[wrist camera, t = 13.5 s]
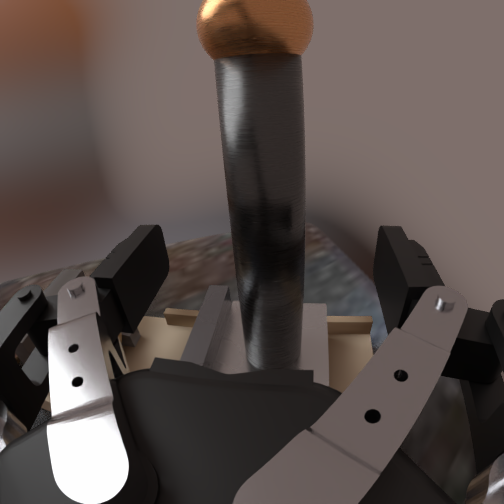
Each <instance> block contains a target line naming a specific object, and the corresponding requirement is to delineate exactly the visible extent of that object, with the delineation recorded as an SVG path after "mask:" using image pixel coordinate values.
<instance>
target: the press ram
mask: <svg viewBox="0 0 504 504" xmlns="http://www.w3.org/2000/svg"><path fill="white" fill-rule="evenodd" d="M197 33H198V37H199V40H200V42H201V44H202V47H203V48H204V50H205V51H206V52H207V54H208V55H209V56H210V57H211V58H212V59H213V60H214V65H215V76H216V88H217V97H218V98H217V99H218V109H219V120H220V130H221V140H222V150H223V160H224V170H225V179H226V189H227V198H228V206H229V217H230V226H231V235H232V244H233V252H234V261H235V270H236V278H237V286H238V295H239V301H233V303H232V306H231V299H230V291H229V286H216V285H210V286H209V288H208V291H207V293H206V296H205V298H204V301H203V303H202V306H201V308H200V311H199V313H198V316H197V318H196V321H195V323H194V326H193V328H192V331H191V333H190V336H189V338H188V341H187V343H186V346H185V348H184V351H183V353H182V356H181V358H180V361H187V362H192V363H195V364H198V365H201V366H204V367H206V368H209V369H212V370H215V371H218V372H221V373H225V374H237V373H245V372H253V371H260V370H267V369H292V370H314V381H313V382H316V383H320V384H323V385H326V386H329V355H328V328H327V308H326V304H309V303H303V298H304V268H305V130H304V103H303V102H304V101H303V79H302V61H301V55H302V54H303V53H304V51H305V50H306V48H307V47H308V44H309V43H310V40H311V37H312V34H313V16H312V11H311V8H310V6H309V4H308V2H307V0H203V2H202V4H201V6H200V8H199V11H198V15H197Z"/></svg>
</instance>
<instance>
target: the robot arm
mask: <svg viewBox="0 0 504 504" xmlns="http://www.w3.org/2000/svg"><path fill="white" fill-rule="evenodd" d="M168 272H169V258H168V254H167V250H166V246H165V241H164V237H163V232H162V229H161V227H160V226H159V225H140V226H138V227H137V229H136V230H135V231H134V232H133V233H132V234H131V235H130V236H129V237H128V238H127V239H125V240H124V241H122V242H121V243H119V244H118V245H117V246H116V247H115V248H114V249H113V250H112V251H111V253H110V254H109V255H108V256H107V257H106V259H104V260H103V261H102V263H101V264H100V265H99V266H98V267H97V268H96V269H95V271H94V272H93V273H92V274H91V275H90V276H89V277H85V276H84V277H78V278H75V279H73V280H71V281H69V282H67V283H66V284H65V285H63V286H62V287H61V289H60V290H59V292H58V295H53V296H47V297H45V295H44V293H43V291H42V289H41V287H40V286H39V285H29V286H26V287H24V288H22V289H21V290H19V291H18V292H17V293H16V294H15V295H14V296H13V297H12V298H11V299H10V300H9V302H8V303H7V304H6V305H5V306H4V308H3V309H2V310H1V311H0V504H456V503H455V502H454V501H453V500H452V499H451V498H450V497H449V496H448V495H447V494H446V493H445V492H444V491H443V490H442V489H441V488H440V487H439V486H438V485H437V484H436V483H435V482H434V481H433V480H432V479H430V478H429V477H428V476H427V475H426V474H425V473H424V472H423V471H422V470H421V469H420V468H419V467H418V466H417V465H416V464H415V463H414V462H413V461H412V460H411V459H410V458H409V457H408V456H407V455H406V454H405V453H404V452H403V451H402V450H401V449H400V448H399V447H400V445H401V444H402V442H403V440H404V439H405V437H406V436H407V434H408V433H409V431H410V429H411V428H412V426H413V424H414V423H415V421H416V419H417V418H418V416H419V414H420V413H421V411H422V409H423V407H424V405H425V404H426V402H427V400H428V398H429V396H430V394H431V393H432V391H433V389H434V387H435V385H436V383H437V381H438V379H439V377H440V375H441V376H446V377H451V378H456V379H459V380H460V383H461V388H462V392H463V396H464V400H465V405H466V409H467V414H468V419H469V424H470V430H471V435H472V441H473V448H474V454H475V462H476V470H477V475H476V476H475V477H474V478H473V479H472V480H471V482H470V484H469V486H468V489H467V494H466V499H465V503H464V504H504V382H503V379H502V376H501V372H502V371H503V372H504V300H498V301H496V302H495V303H494V304H493V307H492V308H491V310H490V312H485V311H480V310H475V309H471V308H468V304H467V301H466V300H465V298H464V297H463V296H462V295H461V294H460V293H459V292H458V291H456V290H454V289H452V288H449V287H446V286H445V285H444V283H443V281H442V280H441V278H440V276H439V274H438V272H437V270H436V269H435V267H434V265H433V264H432V261H431V260H430V258H429V256H428V254H427V253H426V251H425V249H424V248H423V247H422V246H421V245H420V244H418V243H417V242H416V241H414V240H408V238H407V236H406V234H405V233H404V231H403V229H402V227H401V226H380V228H379V231H378V238H377V245H376V252H375V259H374V268H373V276H374V282H375V286H376V289H377V293H378V297H379V301H380V304H381V308H382V312H383V316H384V320H385V324H386V328H387V333H388V337H387V338H386V339H385V341H384V342H383V344H382V345H381V346H380V347H379V349H378V350H377V351H376V353H375V354H374V355H373V357H372V358H371V359H370V360H369V362H368V363H367V364H366V365H365V367H364V368H363V369H362V370H361V372H360V373H359V374H358V375H357V377H356V378H355V379H354V380H353V381H352V383H351V384H350V385H349V386H348V387H347V388H346V390H345V391H344V392H343V393H341V392H340V391H338V390H336V389H333V388H331V387H329V386H326V385H323V384H320V383H316V382H313V381H314V370H292V369H267V370H260V371H253V372H245V373H237V374H225V373H221V372H218V371H215V370H212V369H209V368H206V367H204V366H201V365H198V364H195V363H192V362H187V361H179V360H172V359H164V358H158V357H155V358H154V361H153V363H152V365H151V367H150V368H147V369H141V370H136V371H132V372H130V371H129V367H128V364H127V361H126V358H125V354H124V351H123V347H122V344H121V341H120V339H119V337H118V336H119V334H120V332H124V333H131V334H134V333H135V331H136V329H137V327H138V325H139V324H140V322H141V320H142V318H143V317H144V315H145V313H146V311H147V310H148V308H149V306H150V304H151V303H152V301H153V299H154V297H155V296H156V294H157V292H158V291H159V289H160V287H161V285H162V284H163V282H164V280H165V279H166V277H167V275H168ZM26 334H28V336H29V337H30V339H31V341H32V342H33V344H34V345H35V348H34V350H33V351H32V353H31V355H30V356H29V358H28V359H27V361H26V362H25V364H24V366H23V367H22V369H21V367H20V366H19V364H18V363H17V361H16V358H15V351H16V348H17V347H18V345H19V344H20V342H21V341H22V339H23V338H24V336H25V335H26ZM49 391H50V398H51V409H52V418H50V419H49V420H47V421H45V422H44V423H42V424H40V425H38V426H37V427H35V428H33V429H32V430H30V429H31V427H32V425H33V423H34V421H35V419H36V417H37V415H38V413H39V411H40V409H41V407H42V405H43V403H44V401H45V399H46V397H47V395H48V393H49Z"/></svg>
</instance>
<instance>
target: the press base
mask: <svg viewBox="0 0 504 504" xmlns="http://www.w3.org/2000/svg"><path fill="white" fill-rule="evenodd" d="M78 277H84V273H83V270H74V269H64V270H63V271H62V272H61V273H60V274H59V275H58V276H57V277H56V278H55V279H54V280H53V282H52V283H51V284H50V285H49V286H48V287H47V288H46V289H45V290H44V291H43V293H44V295H45V297H47V296H53V295H58V292H59V290H60V289H61V287H62V286H63V285H65V284H66V283H67V282H69V281H71V280H73V279H75V278H78ZM198 313H199V311H196V310H183V309H171V308H166V310H165V312H164V316H165V318H157V317H148V316H144V317H143V318H142V320H141V322H140V324H139V325H138V327H137V329H136V331H135V333H134V334H131V333H124V332H121V334H122V342H121V344H122V347H123V351H124V354H125V358H126V361H127V364H128V367H129V371H130V372H132V371H136V370H141V369H147V368H150V367H151V365H152V363H153V361H154V358H155V357H158V358H164V359H172V360H179V361H180V358H181V356H182V353H183V351H184V348H185V346H186V343H187V341H188V338H189V336H190V333H191V331H192V328H193V326H194V323H195V321H196V318H197V316H198ZM372 323H373V321H372V316H327V328H328V355H329V387H331V388H333V389H336V390H338V391H340V392H341V393H343V392H344V391H345V390H346V388H347V387H348V386H349V385H350V384H351V383H352V381H353V380H354V379H355V378H356V377H357V375H358V374H359V373H360V372H361V370H362V369H363V368H364V367H365V365H366V364H367V363H368V362H369V360H370V359H371V358H372V357H373V351H372V344H371V339H370V331H371V327H372ZM34 348H35V345H34V344H33V342H32V341H31V339H30V337H29V336H28V334H26V335H25V336H24V338H23V339H22V341H21V342H20V344H19V345H18V347H17V348H16V351H15V353H16V355H17V356H18V358H19V359H20V360H21V362H22V363H23V365H24V364H25V362H26V361H27V359H28V358H29V356H30V355H31V353H32V351H33V350H34ZM41 408H43V409H45V410H47V411H50V412H52V409H51V398H50V391H49V393H48V395H47V397H46V399H45V401H44V403H43V405H42V407H41Z"/></svg>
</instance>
